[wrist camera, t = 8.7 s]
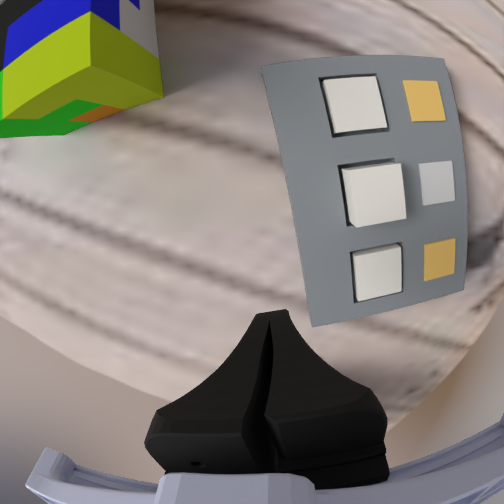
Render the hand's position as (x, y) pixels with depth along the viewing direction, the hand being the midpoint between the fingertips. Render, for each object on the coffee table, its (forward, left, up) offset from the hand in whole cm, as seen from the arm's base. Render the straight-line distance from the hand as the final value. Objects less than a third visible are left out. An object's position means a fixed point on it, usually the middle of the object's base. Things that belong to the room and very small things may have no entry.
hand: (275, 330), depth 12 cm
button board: (+3, -9, -10) cm, 14 cm away
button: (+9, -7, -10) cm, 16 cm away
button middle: (+3, -7, -9) cm, 12 cm away
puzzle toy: (+18, +10, -11) cm, 24 cm away
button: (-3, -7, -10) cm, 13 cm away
